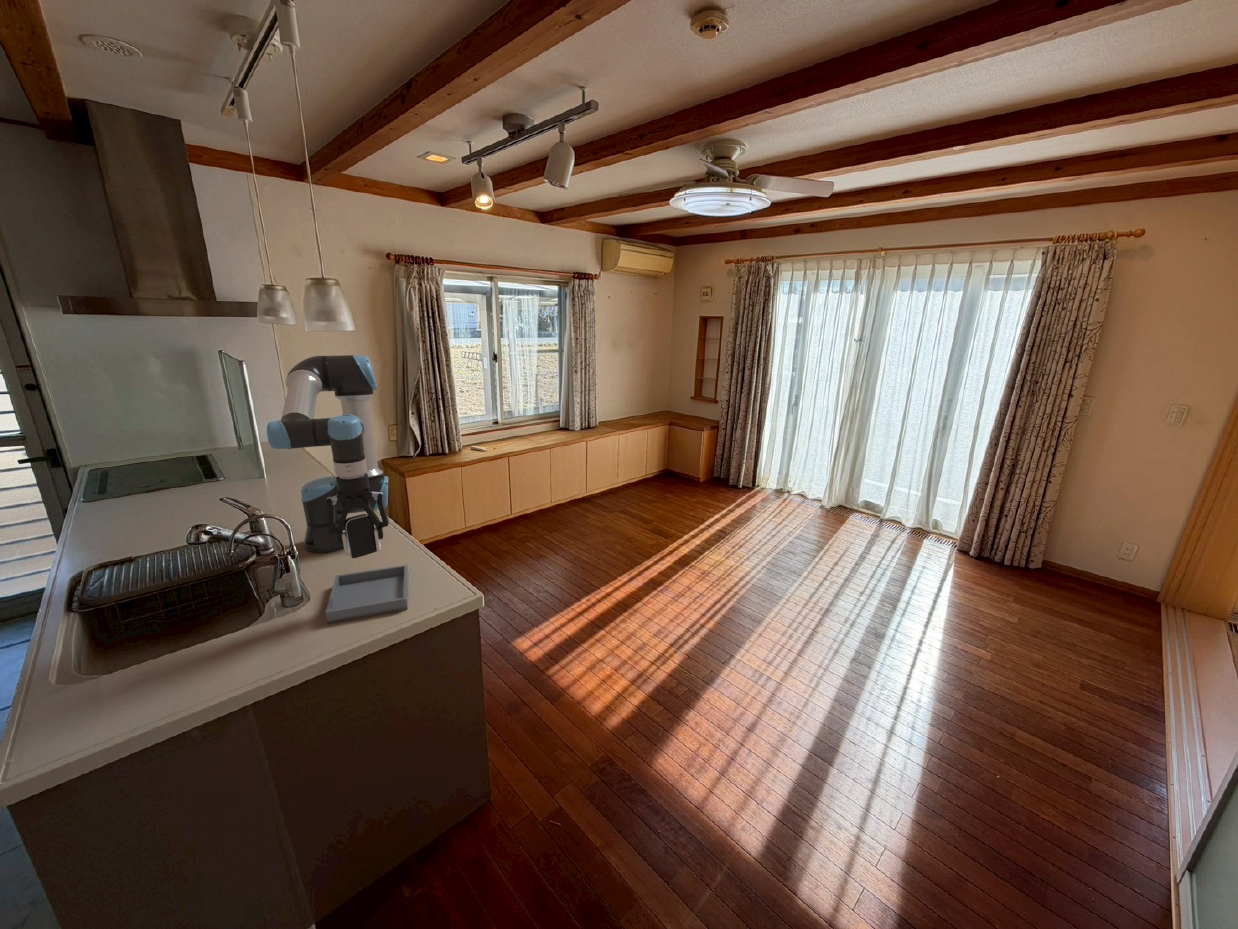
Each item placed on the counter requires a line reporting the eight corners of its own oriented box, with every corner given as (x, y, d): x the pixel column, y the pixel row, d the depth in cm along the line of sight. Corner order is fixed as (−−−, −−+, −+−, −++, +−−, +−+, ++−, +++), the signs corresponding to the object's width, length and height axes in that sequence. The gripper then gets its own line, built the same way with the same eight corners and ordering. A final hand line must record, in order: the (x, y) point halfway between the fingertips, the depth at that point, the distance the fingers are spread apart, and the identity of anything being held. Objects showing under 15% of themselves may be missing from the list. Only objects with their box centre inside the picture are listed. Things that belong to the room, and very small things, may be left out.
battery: (373, 547, 139) (368, 510, 136) (378, 551, 137) (373, 515, 133) (347, 554, 135) (341, 517, 131) (351, 560, 132) (345, 522, 128)
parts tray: (337, 585, 145) (336, 575, 144) (408, 574, 152) (407, 564, 151) (327, 624, 128) (325, 612, 127) (407, 609, 135) (406, 598, 134)
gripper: (305, 483, 121) (319, 563, 129) (392, 475, 129) (401, 552, 136) (310, 473, 128) (324, 550, 135) (393, 466, 135) (402, 540, 142)
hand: (363, 551), depth 135 cm, fingers closed on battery, 7 cm apart
